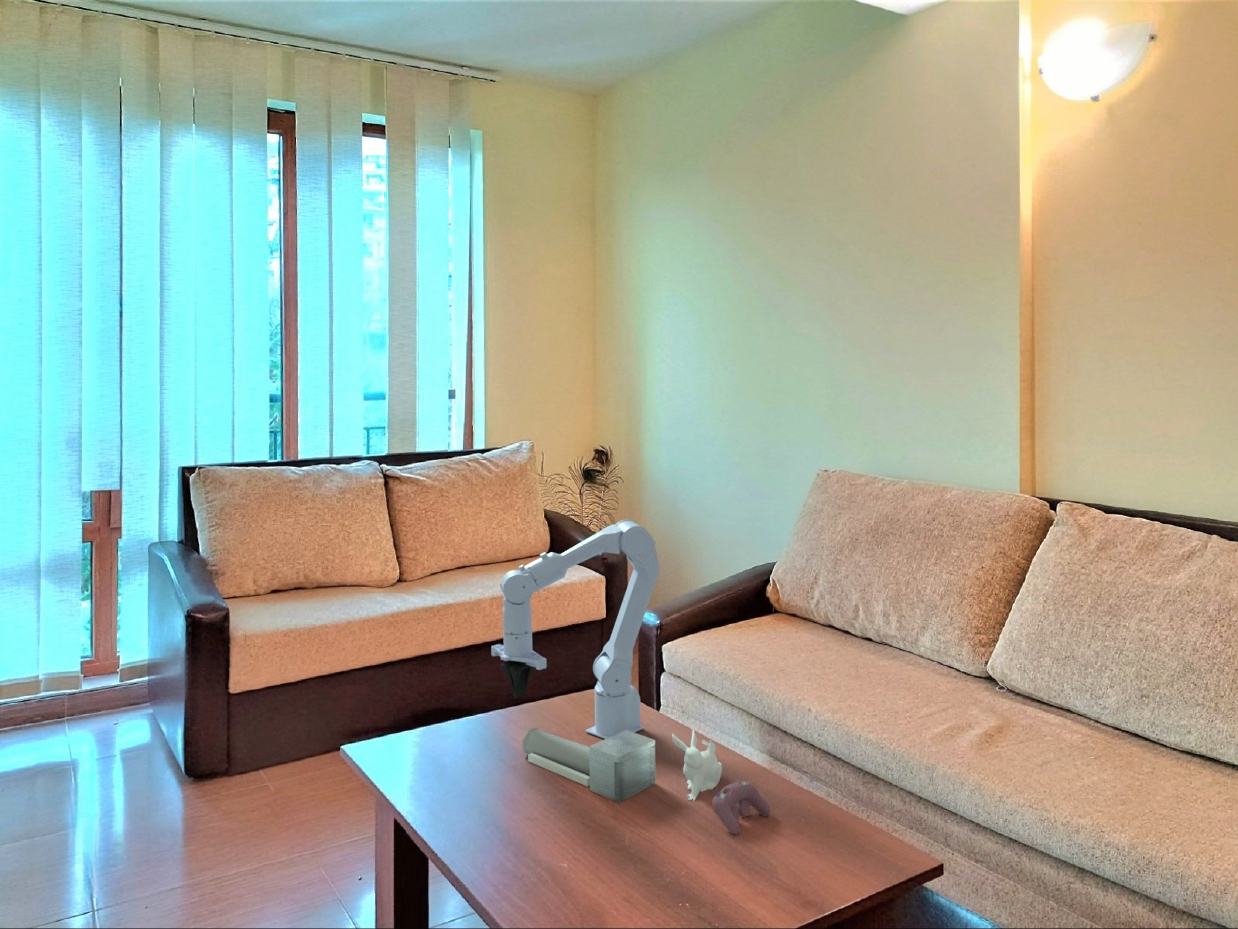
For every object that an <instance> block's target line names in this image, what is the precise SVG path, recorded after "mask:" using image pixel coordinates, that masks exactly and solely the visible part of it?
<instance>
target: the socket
mask: <svg viewBox="0 0 1238 929" xmlns="http://www.w3.org/2000/svg"><path fill="white" fill-rule="evenodd" d="M588 747H589V758H590V775H589V777H590V785H589V791H590V792H593V793H595V794H597V795H600V796H601V797H604V798H607V799H608V800H612V801H614V802H616V803H618V804H619V803H621V802H623V801H625V800H627V799H628V798H630V797H633V796H634V795H637V794H638V793H640V792H642V791H644V790H645V789H648V788H650V787H652V786H654V785H655V784H656V740H655V739H653V738H650V737H648V736H645V735H642V734H639V733H637V732H635V733H634V732H631V731H628V730H625V731H623V732H621V733H618V734H616V735H614V736H612V737H609V738H607V739H603V740H600V741H598V742H596V743H594V744H591V745H589V746H588Z"/></svg>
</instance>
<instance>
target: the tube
mask: <svg viewBox="0 0 1238 929" xmlns="http://www.w3.org/2000/svg"><path fill="white" fill-rule="evenodd" d="M522 752H523V753H525V754H527V755H528V754H530V753H534V754H536V755H539V756H541V757H544V758H546V759H549V760H551V761H553V762H556V763H558V764H561V765H563V766H565V767H568V768H570V769H573V770H575V771H577V772H580V773H582V774H585V775H587V776H590V758H589V746H587V745H584V744H582V743H578V742H575V741H572V740H570V739H566V738H563V737H561V736H558V735H555V734H551V733H549V732H546V731H543V730H541V729H539V728H537V727H533V728H530V729H528V730H526V732H525V735H524V737H523V740H522Z"/></svg>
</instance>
